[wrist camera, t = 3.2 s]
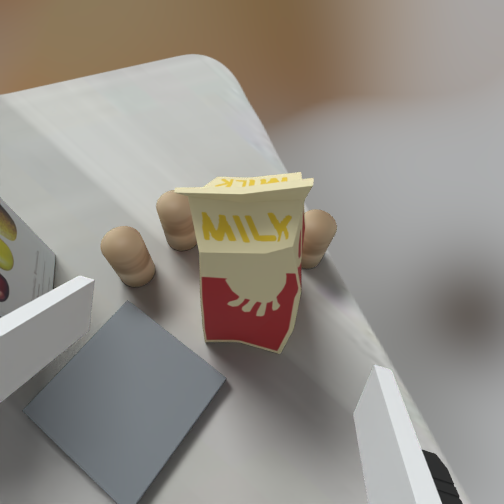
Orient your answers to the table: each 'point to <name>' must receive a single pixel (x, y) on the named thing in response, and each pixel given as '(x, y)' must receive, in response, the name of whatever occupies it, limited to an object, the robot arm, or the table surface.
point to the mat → (125, 402)
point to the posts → (194, 239)
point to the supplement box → (22, 263)
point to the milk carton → (250, 256)
